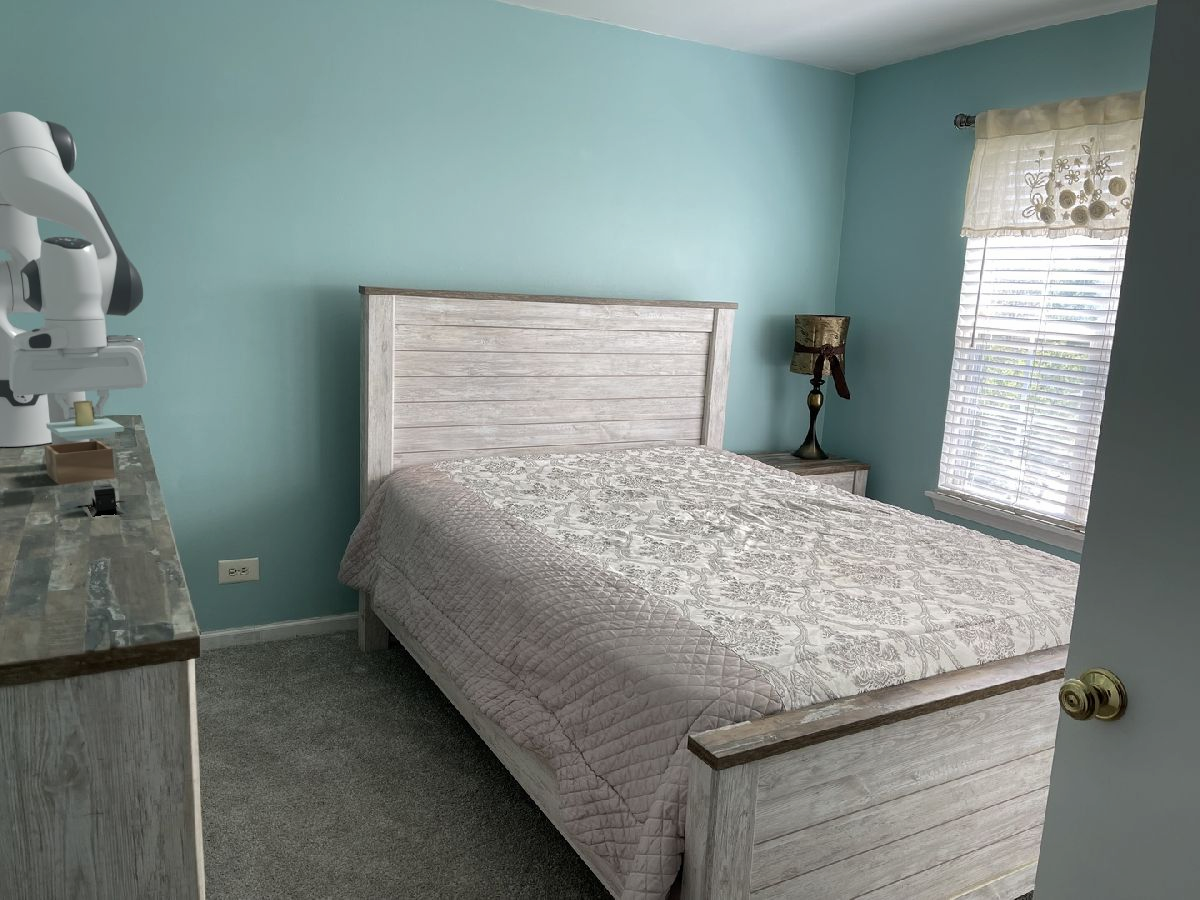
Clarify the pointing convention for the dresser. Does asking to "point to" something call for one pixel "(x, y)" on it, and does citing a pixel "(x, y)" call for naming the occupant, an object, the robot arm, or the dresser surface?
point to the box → (79, 462)
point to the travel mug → (58, 414)
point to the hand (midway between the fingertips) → (84, 417)
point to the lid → (85, 425)
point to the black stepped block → (104, 501)
